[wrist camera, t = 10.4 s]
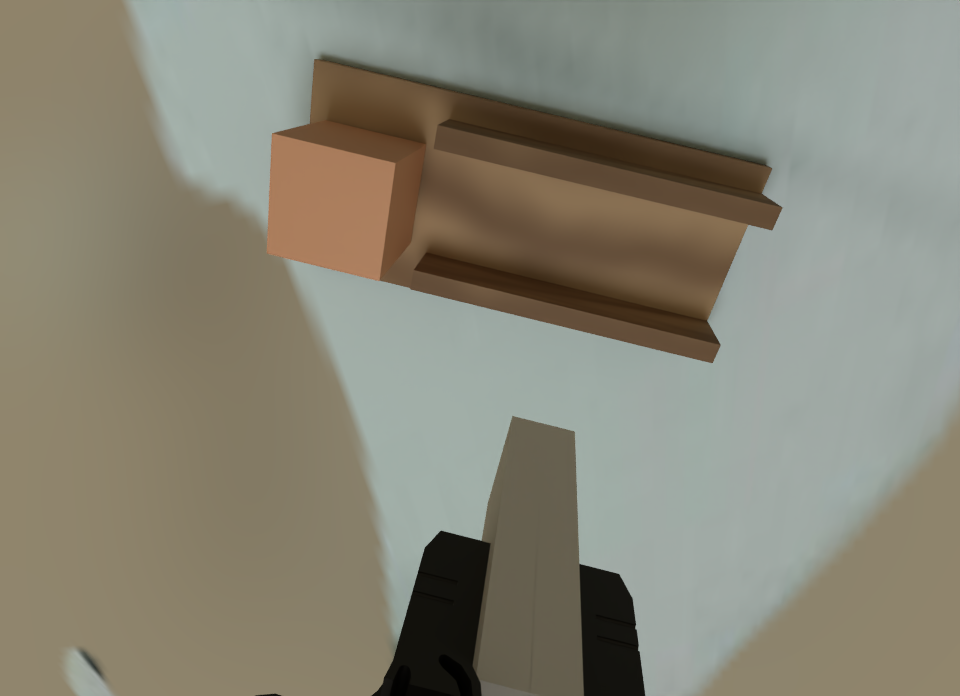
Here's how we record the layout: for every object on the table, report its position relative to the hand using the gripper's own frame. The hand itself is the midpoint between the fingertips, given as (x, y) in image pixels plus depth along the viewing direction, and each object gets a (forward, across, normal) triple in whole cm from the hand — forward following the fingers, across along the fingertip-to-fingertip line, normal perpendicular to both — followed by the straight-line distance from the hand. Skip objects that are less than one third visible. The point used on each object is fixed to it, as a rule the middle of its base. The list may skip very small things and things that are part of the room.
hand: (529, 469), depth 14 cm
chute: (+24, -2, 0) cm, 24 cm away
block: (+23, -11, 0) cm, 26 cm away
